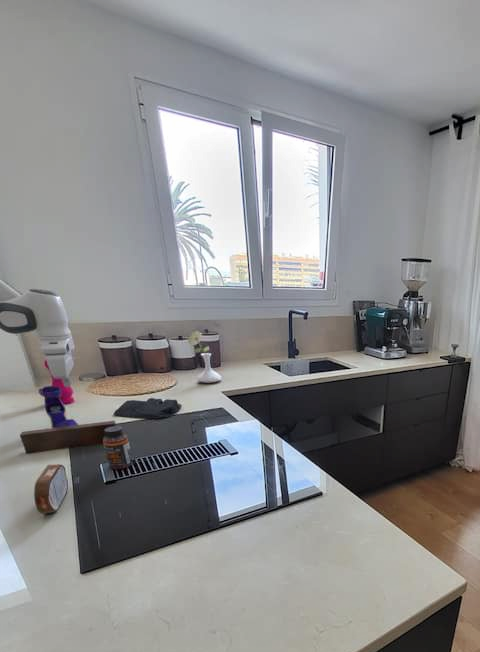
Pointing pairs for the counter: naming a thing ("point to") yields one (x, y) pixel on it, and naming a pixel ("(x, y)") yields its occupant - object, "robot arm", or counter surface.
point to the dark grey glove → (148, 408)
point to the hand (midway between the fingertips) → (68, 385)
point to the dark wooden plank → (64, 436)
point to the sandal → (55, 407)
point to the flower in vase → (208, 373)
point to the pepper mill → (66, 391)
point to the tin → (50, 489)
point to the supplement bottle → (117, 448)
